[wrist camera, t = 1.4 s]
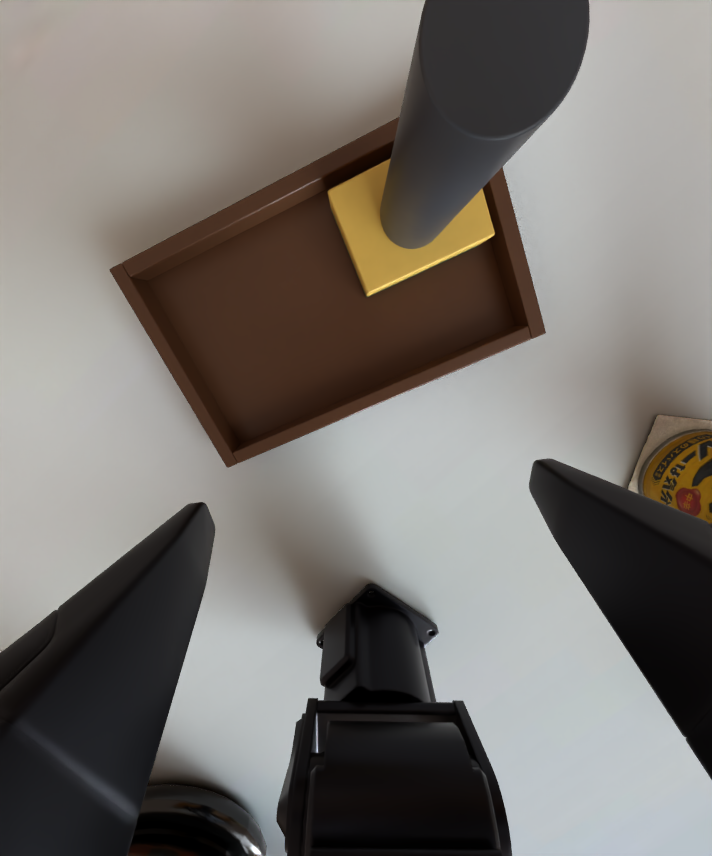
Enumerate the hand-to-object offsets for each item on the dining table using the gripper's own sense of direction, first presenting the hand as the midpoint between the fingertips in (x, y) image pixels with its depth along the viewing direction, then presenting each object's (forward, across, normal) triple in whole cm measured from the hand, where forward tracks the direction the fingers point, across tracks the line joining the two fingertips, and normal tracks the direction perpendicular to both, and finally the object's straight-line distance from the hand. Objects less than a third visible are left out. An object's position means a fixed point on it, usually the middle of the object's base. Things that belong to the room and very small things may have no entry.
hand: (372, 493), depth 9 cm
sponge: (+12, -4, -6) cm, 14 cm away
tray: (+12, 0, -3) cm, 12 cm away
